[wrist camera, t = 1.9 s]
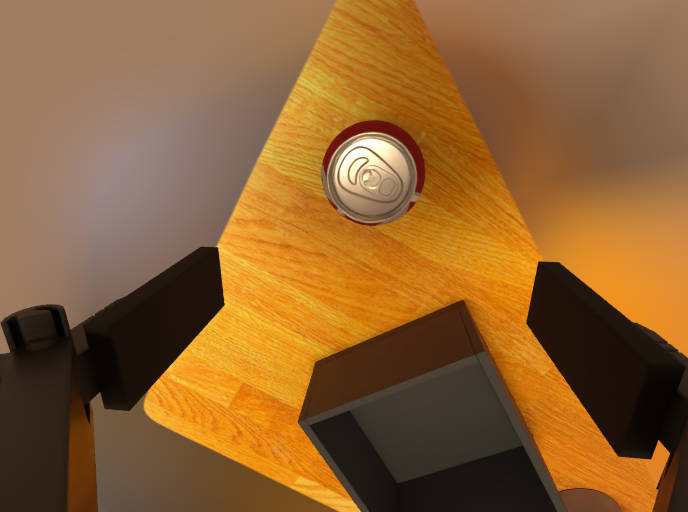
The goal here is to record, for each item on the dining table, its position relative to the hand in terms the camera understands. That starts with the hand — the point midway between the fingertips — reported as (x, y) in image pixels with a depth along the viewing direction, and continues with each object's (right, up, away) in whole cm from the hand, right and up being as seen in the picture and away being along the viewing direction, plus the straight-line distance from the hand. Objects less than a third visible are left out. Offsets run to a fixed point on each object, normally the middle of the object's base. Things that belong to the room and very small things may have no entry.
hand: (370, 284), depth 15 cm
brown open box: (+8, -15, +27) cm, 32 cm away
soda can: (+2, +10, +19) cm, 21 cm away
